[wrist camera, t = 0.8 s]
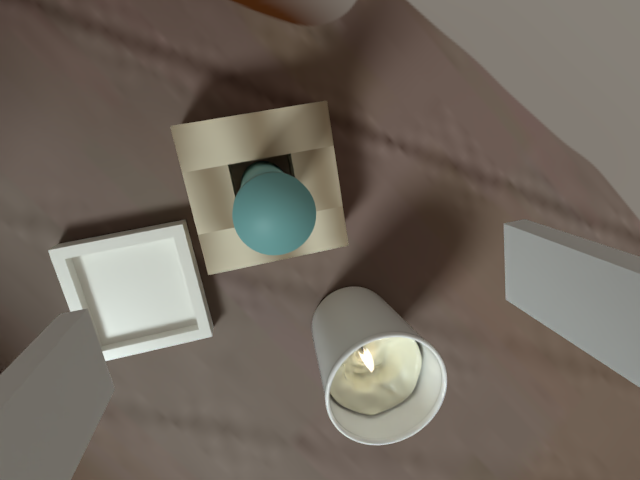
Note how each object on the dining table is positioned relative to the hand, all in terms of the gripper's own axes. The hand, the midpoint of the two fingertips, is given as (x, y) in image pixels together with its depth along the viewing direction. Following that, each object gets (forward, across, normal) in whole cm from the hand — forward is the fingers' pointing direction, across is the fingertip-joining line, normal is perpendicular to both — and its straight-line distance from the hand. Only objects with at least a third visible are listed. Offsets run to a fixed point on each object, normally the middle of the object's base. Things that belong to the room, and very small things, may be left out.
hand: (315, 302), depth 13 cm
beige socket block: (+27, 0, 0) cm, 27 cm away
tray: (+27, -13, -7) cm, 31 cm away
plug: (+26, 0, 0) cm, 26 cm away
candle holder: (+27, +6, -16) cm, 32 cm away
